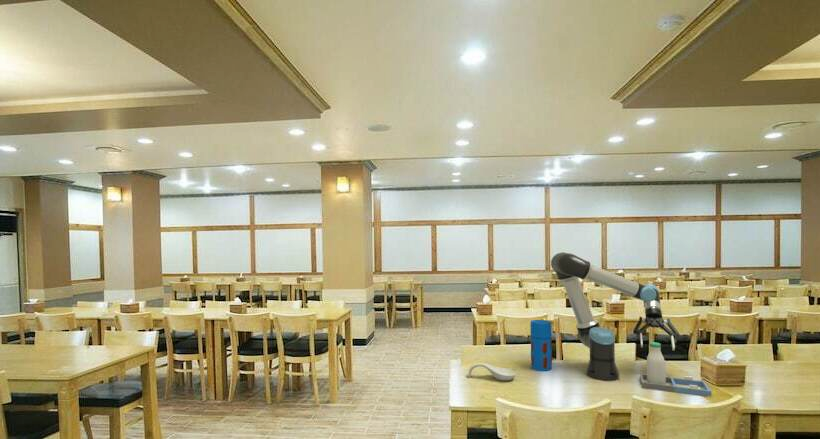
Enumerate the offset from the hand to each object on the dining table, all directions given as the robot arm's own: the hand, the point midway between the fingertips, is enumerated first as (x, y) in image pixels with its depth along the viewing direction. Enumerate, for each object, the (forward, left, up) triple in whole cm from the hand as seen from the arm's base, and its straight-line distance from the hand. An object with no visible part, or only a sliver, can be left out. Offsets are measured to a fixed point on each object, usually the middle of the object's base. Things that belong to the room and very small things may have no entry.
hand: (657, 347), depth 207 cm
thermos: (-55, -2, -17) cm, 58 cm away
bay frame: (+5, -6, -16) cm, 18 cm away
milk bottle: (-2, -6, -17) cm, 18 cm away
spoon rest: (-76, -29, -17) cm, 83 cm away
